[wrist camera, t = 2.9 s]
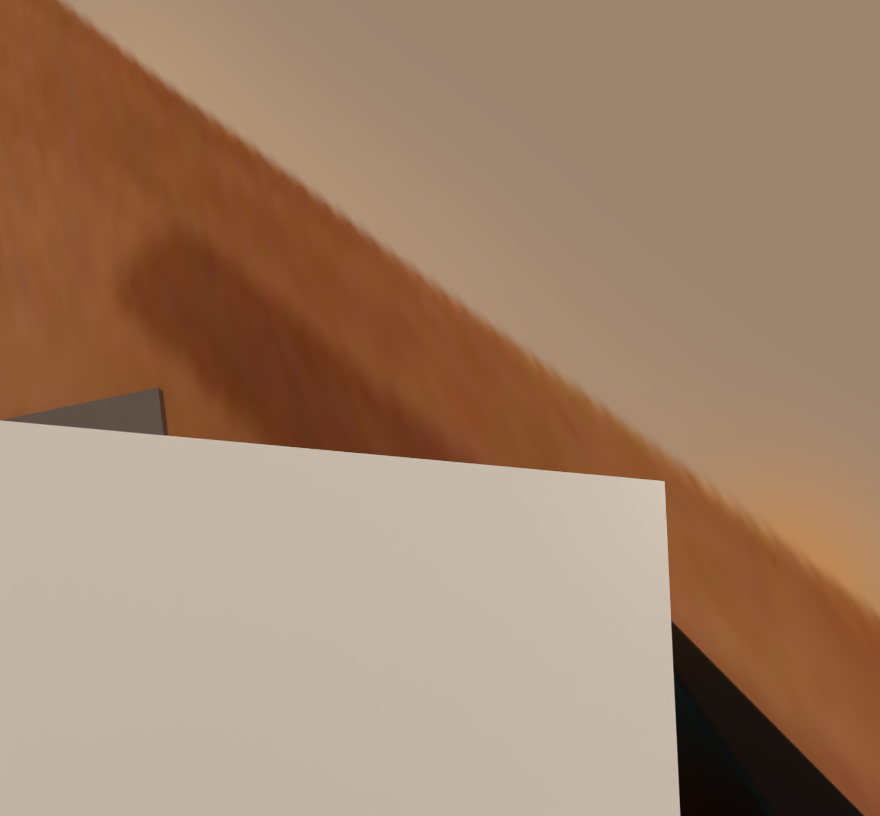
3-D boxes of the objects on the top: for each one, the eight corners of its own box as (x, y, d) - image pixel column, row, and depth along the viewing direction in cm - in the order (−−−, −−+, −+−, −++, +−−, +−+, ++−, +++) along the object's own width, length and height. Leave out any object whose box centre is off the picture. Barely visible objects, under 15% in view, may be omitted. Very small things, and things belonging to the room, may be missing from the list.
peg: (448, 705, 14) (810, 1891, 2) (282, 693, 14) (-840, 1945, 1) (459, 536, 15) (707, 440, 3) (308, 523, 15) (-142, 359, 3)
